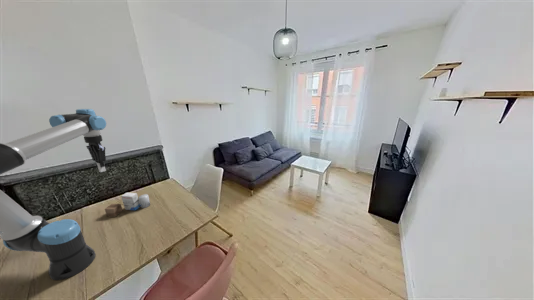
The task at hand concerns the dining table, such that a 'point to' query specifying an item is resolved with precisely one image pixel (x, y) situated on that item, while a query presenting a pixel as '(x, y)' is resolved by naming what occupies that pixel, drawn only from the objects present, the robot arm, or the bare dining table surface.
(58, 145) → the robot arm
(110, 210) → the walnut block
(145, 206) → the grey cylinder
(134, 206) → the ink box
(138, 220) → the dining table surface
